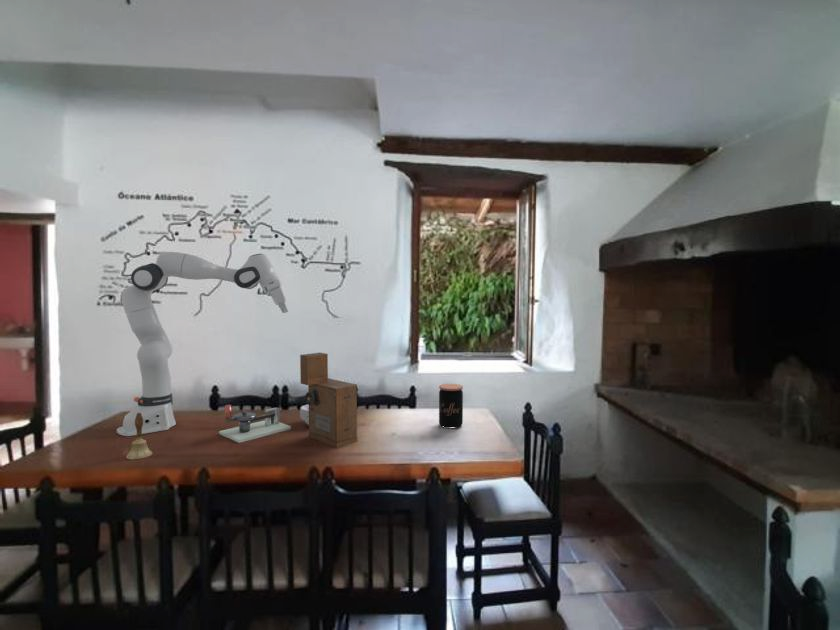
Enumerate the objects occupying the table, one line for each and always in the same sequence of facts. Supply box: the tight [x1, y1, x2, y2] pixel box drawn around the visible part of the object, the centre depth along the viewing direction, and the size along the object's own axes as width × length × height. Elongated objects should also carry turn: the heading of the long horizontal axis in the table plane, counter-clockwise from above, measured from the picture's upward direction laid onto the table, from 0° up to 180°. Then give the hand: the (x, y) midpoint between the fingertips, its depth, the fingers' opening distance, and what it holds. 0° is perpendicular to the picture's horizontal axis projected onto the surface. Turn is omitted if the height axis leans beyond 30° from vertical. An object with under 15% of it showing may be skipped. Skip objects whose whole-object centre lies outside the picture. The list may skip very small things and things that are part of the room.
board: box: [218, 410, 292, 444], centre depth 196 cm, size 24×17×10 cm
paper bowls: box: [299, 404, 309, 426], centre depth 208 cm, size 15×15×8 cm
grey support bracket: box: [264, 406, 281, 426], centre depth 202 cm, size 6×2×7 cm, turn 139°
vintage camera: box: [299, 352, 358, 449], centre depth 184 cm, size 19×14×35 cm
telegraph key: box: [224, 404, 275, 432], centre depth 194 cm, size 22×9×12 cm, turn 139°
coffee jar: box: [438, 383, 464, 428], centre depth 205 cm, size 11×11×18 cm
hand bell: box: [126, 413, 153, 461], centre depth 167 cm, size 8×8×16 cm
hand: (285, 312), depth 215 cm, fingers open, 8 cm apart
